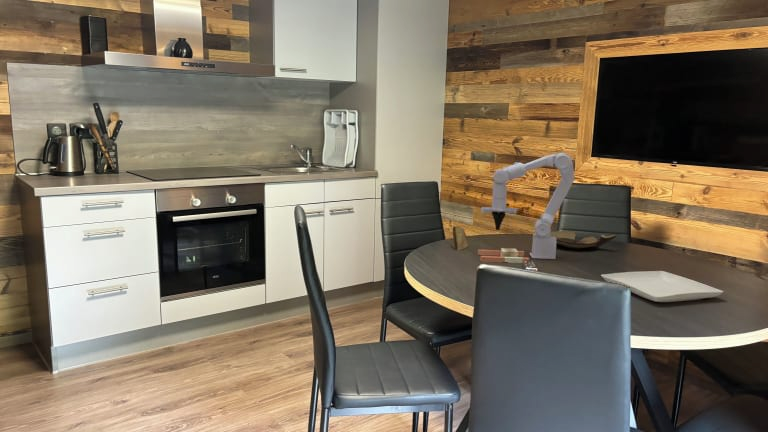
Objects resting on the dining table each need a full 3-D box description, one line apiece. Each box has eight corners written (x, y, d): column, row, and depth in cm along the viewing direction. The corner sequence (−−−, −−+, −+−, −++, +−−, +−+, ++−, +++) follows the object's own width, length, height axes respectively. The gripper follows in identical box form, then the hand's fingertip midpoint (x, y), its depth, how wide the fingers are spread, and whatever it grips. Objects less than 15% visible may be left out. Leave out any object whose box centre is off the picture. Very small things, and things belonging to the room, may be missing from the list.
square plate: (724, 301, 181) (726, 290, 181) (654, 308, 174) (656, 296, 173) (661, 279, 207) (662, 268, 206) (598, 283, 199) (599, 273, 198)
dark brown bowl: (561, 239, 273) (562, 223, 272) (620, 250, 251) (621, 233, 249) (533, 244, 259) (534, 228, 258) (593, 257, 236) (595, 239, 235)
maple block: (514, 258, 234) (515, 248, 233) (517, 261, 228) (518, 251, 227) (500, 257, 234) (500, 248, 233) (502, 261, 228) (503, 251, 227)
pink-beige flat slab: (523, 255, 237) (523, 251, 236) (528, 263, 224) (529, 258, 224) (477, 254, 238) (478, 249, 238) (480, 261, 225) (480, 256, 225)
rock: (464, 238, 258) (445, 237, 254) (473, 226, 252) (454, 224, 248) (472, 257, 251) (453, 255, 246) (481, 244, 245) (461, 243, 241)
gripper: (482, 198, 233) (481, 230, 235) (518, 199, 231) (516, 232, 234) (481, 196, 240) (479, 227, 242) (515, 197, 238) (513, 228, 241)
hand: (497, 229), depth 238 cm, fingers closed
